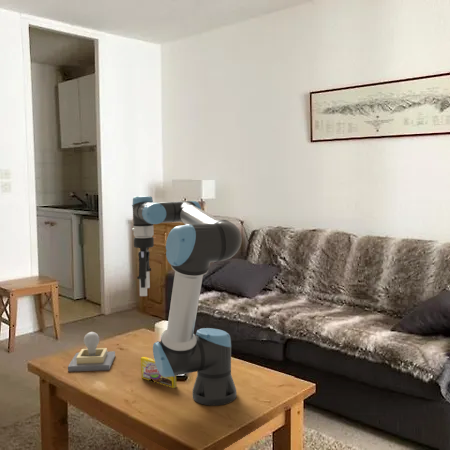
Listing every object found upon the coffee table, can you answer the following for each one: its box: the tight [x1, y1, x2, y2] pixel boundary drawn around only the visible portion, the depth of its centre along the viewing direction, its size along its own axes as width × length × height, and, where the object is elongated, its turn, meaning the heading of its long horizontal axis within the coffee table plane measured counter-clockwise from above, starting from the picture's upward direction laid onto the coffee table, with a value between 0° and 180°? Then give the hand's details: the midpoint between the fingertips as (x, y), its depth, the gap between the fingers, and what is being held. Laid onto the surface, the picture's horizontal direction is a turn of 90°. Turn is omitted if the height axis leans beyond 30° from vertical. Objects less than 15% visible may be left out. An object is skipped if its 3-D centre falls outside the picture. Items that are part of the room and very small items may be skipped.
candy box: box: [140, 356, 178, 389], centre depth 193 cm, size 16×2×8 cm, turn 54°
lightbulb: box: [83, 331, 100, 356], centre depth 212 cm, size 6×6×11 cm
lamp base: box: [67, 347, 116, 372], centre depth 213 cm, size 16×16×4 cm
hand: (145, 291), depth 201 cm, fingers open, 13 cm apart
